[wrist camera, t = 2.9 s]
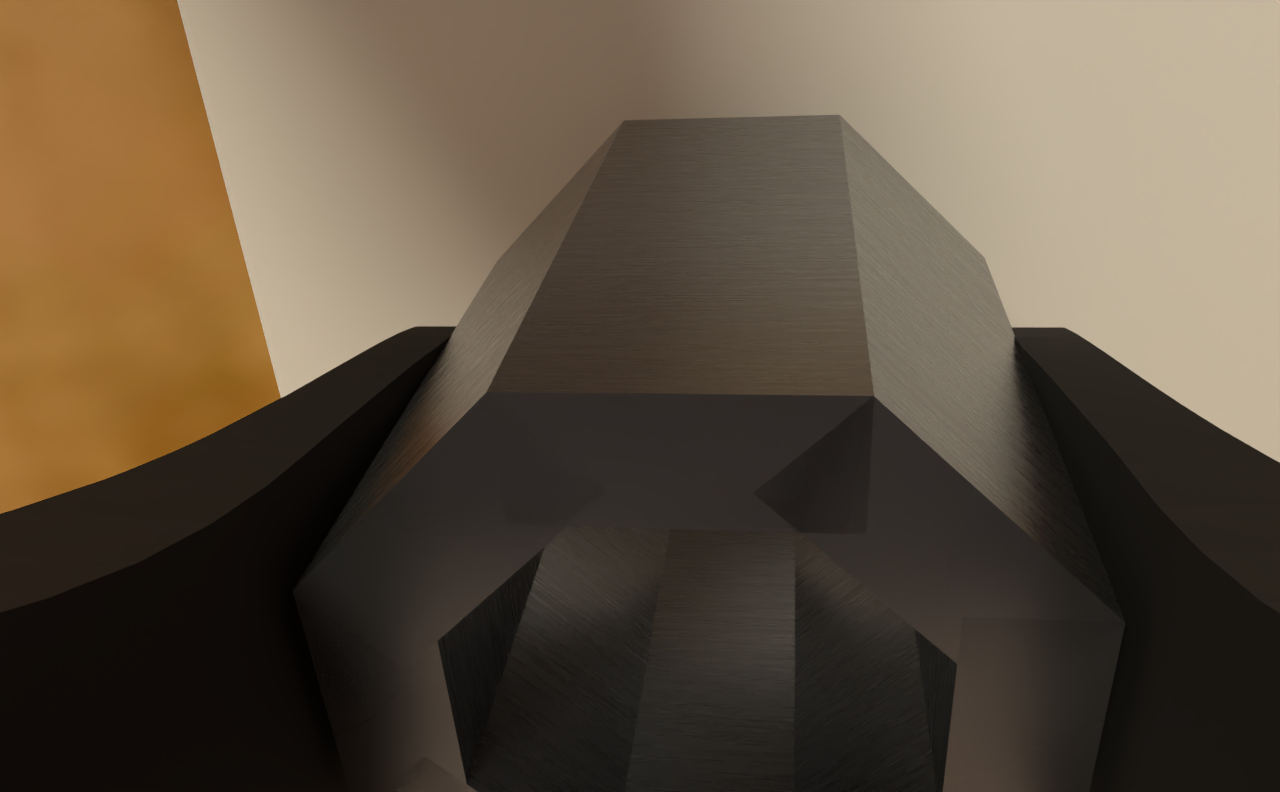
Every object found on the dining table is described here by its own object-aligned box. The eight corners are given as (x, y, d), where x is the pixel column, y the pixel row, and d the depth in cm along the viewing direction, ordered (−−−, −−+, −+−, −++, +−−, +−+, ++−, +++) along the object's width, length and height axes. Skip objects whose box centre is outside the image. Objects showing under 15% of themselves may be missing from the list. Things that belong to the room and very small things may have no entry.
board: (1579, -285, 11) (1657, -291, 10) (1184, 964, 22) (1203, 1021, 21) (180, -186, 14) (129, -182, 13) (442, 908, 24) (427, 957, 23)
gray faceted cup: (999, 110, 11) (1172, 399, 6) (954, 541, 14) (1046, 991, 9) (478, 123, 12) (235, 388, 7) (533, 529, 15) (390, 935, 10)
